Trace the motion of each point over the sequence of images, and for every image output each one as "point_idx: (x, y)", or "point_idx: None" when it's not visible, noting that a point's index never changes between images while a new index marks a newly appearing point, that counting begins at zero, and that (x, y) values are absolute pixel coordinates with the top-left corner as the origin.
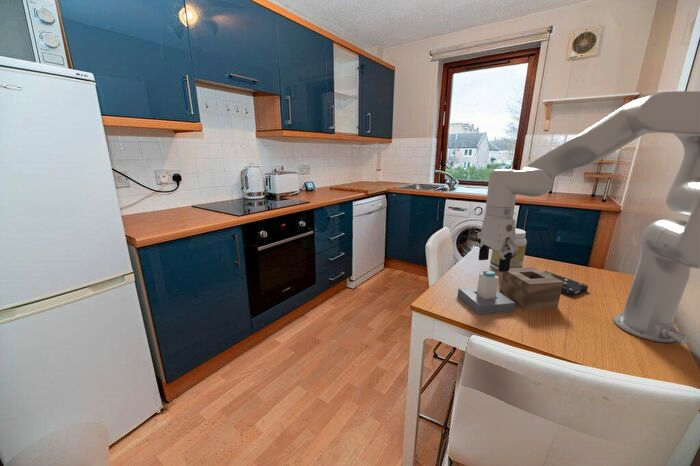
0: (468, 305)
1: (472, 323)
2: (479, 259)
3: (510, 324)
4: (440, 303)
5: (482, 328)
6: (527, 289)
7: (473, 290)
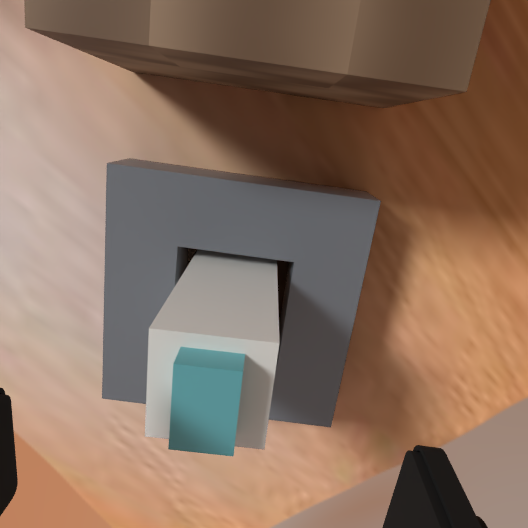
0: None
1: (372, 462)
2: (4, 500)
3: (451, 312)
4: (177, 485)
5: None
6: (422, 95)
7: None
